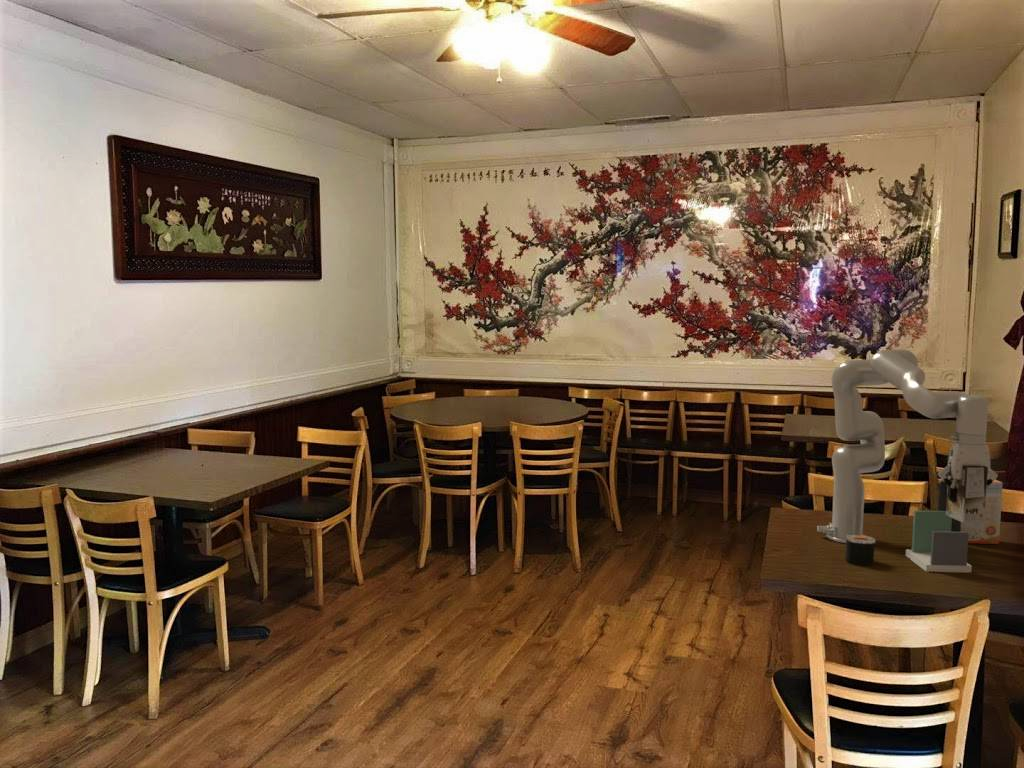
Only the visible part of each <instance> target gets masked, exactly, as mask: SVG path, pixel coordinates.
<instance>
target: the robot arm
mask: <svg viewBox="0 0 1024 768" xmlns="http://www.w3.org/2000/svg"><path fill="white" fill-rule="evenodd" d="M918 362H919V361H918V358H917V356H916V355H915V354H914V353H913V352H912V351H910V350H907V349H883V350H879V351H878V352H875V353H874V354H873V355H872V357H871V359H853V360H847V361H844V362H843V361H842V362H841V363H839V364H838V365H837V366H836V367H835V369H834V370H833V371H832V375H831V386H832V392H833V397H834V417H835V419H834V420H835V421H834V422H835V433H836V436H837V437H838V438H839V439H840V440H842V441H845V442H846V441H847V442H853V441H854V442H855V441H860V444H847V445H845V444H844V445H842V446H840V447H838V448H836V449H835V450H834V451H833V453H832V455H831V464H832V465H831V466H832V471H833V498H832V499H833V500H832V501H833V503H832V519H831V521H832V522H829V523H828V524H827V525H817V526H816V531H817V532H822V533H824V534H826V537H827V538H828V539H829V540H831V541H834V542H837V543H843V544H846V536H847V535H850V536H851V535H852V536H853V535H858V536H861V535H863V536H864V535H865V536H867V535H866V534H864V533H863V529H864V527H863V526H864V512H865V511H864V509H865V492H866V491H865V483H864V481H863V479H862V477H861V474H865V473H874V472H875V473H876V472H878V471H880V469H882V468H883V467H884V464H885V461H886V450H885V449H886V448H885V446H886V444H885V427H884V422H883V420H882V418H881V417H880V416H879V414H878V413H876V412H874V411H870V410H863V399H862V396H861V393H860V391H859V390H858V388H857V387H863V386H865V387H867V386H870V387H871V386H881V385H885V384H891V385H892V386H894V387H895V388H897V389H898V390H900V391H901V392H902V397H903V398H904V401H905V402H906V404H907V405H908V406H909V407H911V408H912V409H913V410H915V411H916V412H918V414H921V415H922V416H925V417H926V418H929V419H934V420H937V419H938V420H939V419H947V418H949V419H952V418H956V422H955V423H956V424H955V432H954V434H951V435H950V440H951V441H954V442H952V444H951V446H950V450H949V454H948V455H949V459H948V458H947V460H948V462H947V465H946V466H945V467H944V468H942V469H941V470H939V471H938V472H937V476H938V477H939V478H940V479H941V481H942V480H943V482H944V483H945V484H946V485H947V486H948V495H947V496H948V499H949V500H950V501H952V502H956V494H957V489H956V488H955V486H956V484H957V483H958V480H962V469H963V466H986V467H988V473H987V488H988V486H989V485H990V484H991V483H992V482H993V481H994V480H995V479H996V480H997V478H998V477H999V475H998V474H997V473H996V471H994V470H993V469H992V468H991V453H990V448H989V447H990V446H989V445H988V444H986V443H987V441H986V440H987V428H988V427H987V426H988V425H987V424H988V414H989V413H988V412H989V400H988V398H987V397H985V396H982V395H975V394H968V393H966V392H962V391H952V390H951V391H936V392H934V391H931V390H929V389H928V388H926V387H925V386H923V385H924V382H925V380H926V373H925V371H924V370H923V369H922V368H921V367H919V365H918V364H919V363H918ZM947 474H948V475H949V476H951V477H950V478H949V479H948V478H947ZM987 488H986V489H987Z"/></svg>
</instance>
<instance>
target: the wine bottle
mask: <svg viewBox="0 0 1024 768" xmlns="http://www.w3.org/2000/svg"><path fill="white" fill-rule="evenodd" d="M948 459H949V454H947V460H946V461H947V463H948ZM946 477H947V478H948V474H946ZM947 489H948V486H947V485H946V484H945V483H944V482H943V480H942V479H941V481H940V482H939V484H938V493H937V508H936V511H946V505H947ZM960 530H961V522H960V521H958V520H956V519H954V518H952V526H951V532H960Z"/></svg>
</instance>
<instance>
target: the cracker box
mask: <svg viewBox="0 0 1024 768" xmlns="http://www.w3.org/2000/svg"><path fill="white" fill-rule="evenodd" d="M1003 484H1004V483H1003V482H1002V481H1000V480H997V478H996V479H995V480H994V481H993V482H992V483H991V484H990V485H989V486H988V488H987V489H986V502H985V516H984V523H962V522H961V530H960V532H968V533H969V537H968V544H977V543H978V544H979V545H980V544H982V545H984V544H985V545H999V544H1000V532H1001V518H1002V517H1001V516H1002V515H1001V514H1002V499H1003V496H1002V495H1003Z"/></svg>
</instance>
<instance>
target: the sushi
mask: <svg viewBox="0 0 1024 768" xmlns="http://www.w3.org/2000/svg"><path fill="white" fill-rule="evenodd" d="M865 535H866V534H864V536H863V535H861V536H858V535H853V536H852V535H851V536H850V535H847V536H846V543H845V546H846V547H845V549H846V550H845V562H846V563H847V564H850V565H854V566H862V567H870V566H873V565H874V557H875V544H876V538H874V537H873V536H869V535H868V536H867V535H866V536H865Z"/></svg>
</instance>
